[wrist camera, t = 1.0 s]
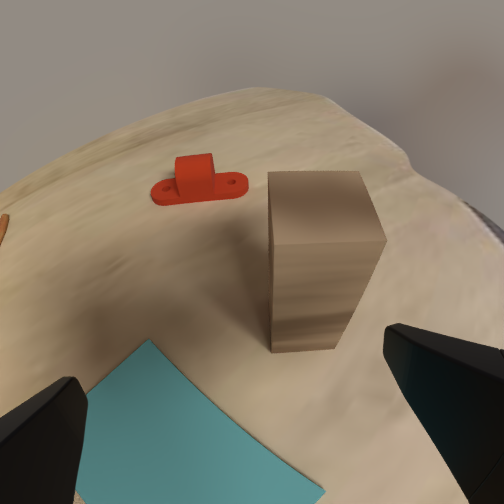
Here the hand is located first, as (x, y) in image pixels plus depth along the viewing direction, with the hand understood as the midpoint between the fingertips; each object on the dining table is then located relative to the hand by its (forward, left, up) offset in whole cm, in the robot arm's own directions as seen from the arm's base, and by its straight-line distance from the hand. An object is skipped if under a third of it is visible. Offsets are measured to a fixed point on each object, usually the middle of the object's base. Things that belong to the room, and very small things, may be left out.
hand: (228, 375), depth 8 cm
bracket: (+22, -15, -15) cm, 30 cm away
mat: (+2, +8, -15) cm, 17 cm away
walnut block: (+3, -9, -15) cm, 18 cm away
